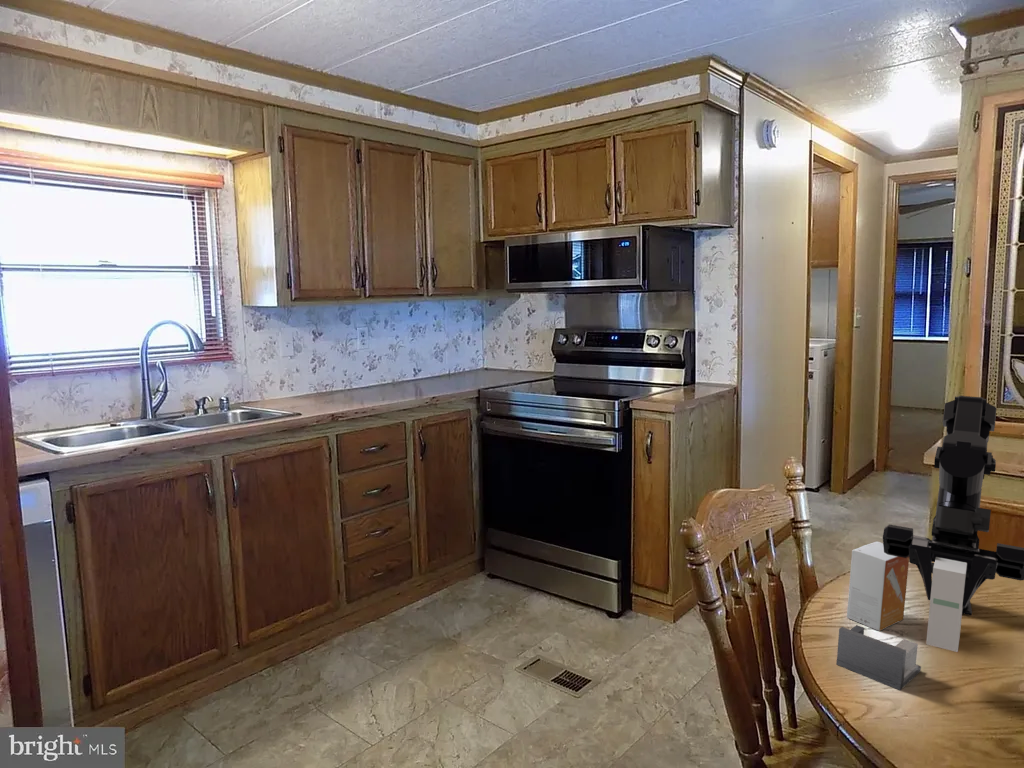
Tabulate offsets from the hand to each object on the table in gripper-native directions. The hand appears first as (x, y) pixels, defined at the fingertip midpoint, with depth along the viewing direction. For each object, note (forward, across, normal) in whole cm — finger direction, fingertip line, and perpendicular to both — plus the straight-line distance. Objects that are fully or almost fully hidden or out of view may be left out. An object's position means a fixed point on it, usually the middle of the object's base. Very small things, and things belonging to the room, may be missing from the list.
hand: (946, 602), depth 104 cm
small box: (-4, -11, +23) cm, 25 cm away
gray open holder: (+9, -8, +10) cm, 16 cm away
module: (+4, 0, +6) cm, 7 cm away
